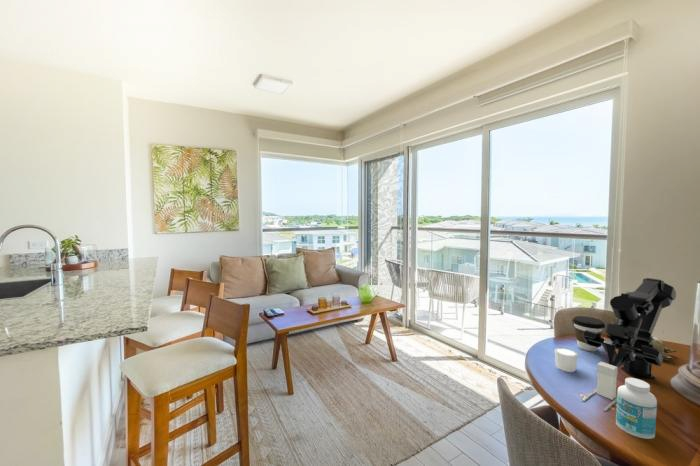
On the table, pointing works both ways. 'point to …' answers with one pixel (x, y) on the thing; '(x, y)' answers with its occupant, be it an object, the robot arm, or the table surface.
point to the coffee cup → (587, 324)
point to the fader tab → (606, 380)
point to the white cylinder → (566, 359)
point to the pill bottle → (636, 409)
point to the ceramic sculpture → (662, 348)
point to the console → (606, 406)
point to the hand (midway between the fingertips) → (611, 370)
